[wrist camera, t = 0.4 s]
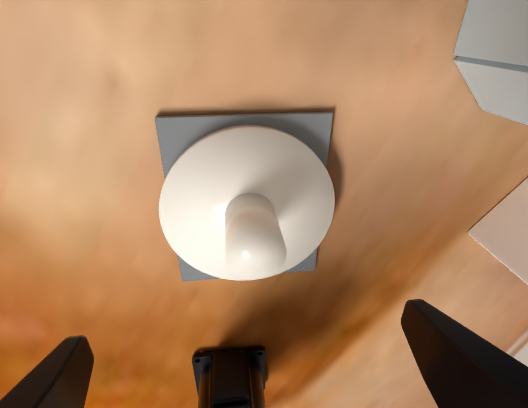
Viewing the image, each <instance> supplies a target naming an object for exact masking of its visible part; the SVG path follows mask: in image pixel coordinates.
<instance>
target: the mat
mask: <svg viewBox="0 0 528 408" xmlns="http://www.w3.org/2000/svg"><path fill="white" fill-rule="evenodd" d="M332 117H333V113H332V112H299V113H260V114H222V115H183V116H156V117H155V123H156V129H157V135H158V141H159V147H160V153H161V159H162V165H163V171H164V177H165V179H166V176H167V174H168V172H169V170H170V168H171V166H172V165H173V163H174V162H175V160H176V159H177V158H178V157H179V155H180V154H181V153H182V152H183V151H184V150H185V149H186V148H187V147H188V146H190V145H191V144H192V143H194V142H195V141H197V140H198V139H200V138H201V137H203V136H205V135H207V134H209V133H211V132H214V131H217V130H219V129H222V128H226V127H231V126H237V125H263V126H268V127H273V128H276V129H280V130H283V131H285V132H287V133H289V134H291V135H294V136H295V137H297V138H298V139H300V140H301V141H303V142H304V143H305V144H306V145H307V146H309V147H310V148H311V149H312V150H313V152H314V153H315V154H316V155H317V156H318V158H319V159H320V160H321V162H322V163H323V165H324V166H325V168H327V160H328V151H329V143H330V134H331V125H332ZM316 254H317V248H316V249H315V250H314V251H313V252H312V253H311V254H310V255H309V256H308V257H307V258H306V259H304V260H303V261H302V262H300V263H299V264H297V265H296V266H294V267H292V268H291V269H289V270H286V271H284V272H282V273H290V272H302V271H313V270H315V263H316ZM178 260H179V266H180V272H181V278H182V282H184V281H196V280H207V279H219V278H218V277H215V276H211V275H209V274H206V273H203V272H201V271H199V270H198V269H196V268H194V267H192V266H191V265H189V264H188V263H186V262H185V261H184V260H183V259H182V258H181V257H180V256H178Z"/></svg>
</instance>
